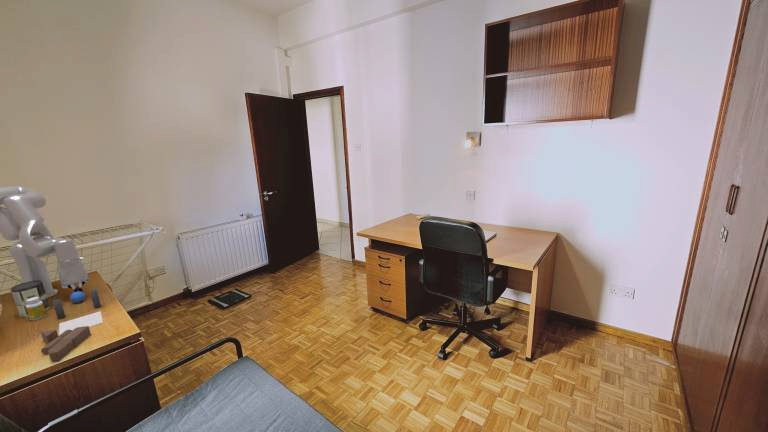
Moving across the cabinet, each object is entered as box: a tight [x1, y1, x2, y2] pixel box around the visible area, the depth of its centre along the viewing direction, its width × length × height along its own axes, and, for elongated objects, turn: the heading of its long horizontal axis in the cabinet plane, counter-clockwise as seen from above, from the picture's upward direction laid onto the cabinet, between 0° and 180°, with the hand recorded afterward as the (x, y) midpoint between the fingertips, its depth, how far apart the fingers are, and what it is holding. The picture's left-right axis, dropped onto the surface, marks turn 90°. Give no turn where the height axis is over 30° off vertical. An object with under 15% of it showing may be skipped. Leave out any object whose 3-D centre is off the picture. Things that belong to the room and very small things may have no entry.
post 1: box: [51, 298, 66, 320], centre depth 143 cm, size 3×3×9 cm
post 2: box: [89, 289, 102, 309], centre depth 152 cm, size 3×3×9 cm
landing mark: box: [58, 310, 104, 336], centre depth 139 cm, size 14×14×1 cm
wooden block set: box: [40, 326, 92, 363], centre depth 121 cm, size 17×6×18 cm
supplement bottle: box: [26, 297, 47, 321], centre depth 143 cm, size 5×5×10 cm
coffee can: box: [9, 280, 51, 317], centre depth 149 cm, size 10×10×14 cm
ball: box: [69, 291, 86, 304], centre depth 158 cm, size 6×6×6 cm
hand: (79, 294), depth 161 cm, fingers closed
